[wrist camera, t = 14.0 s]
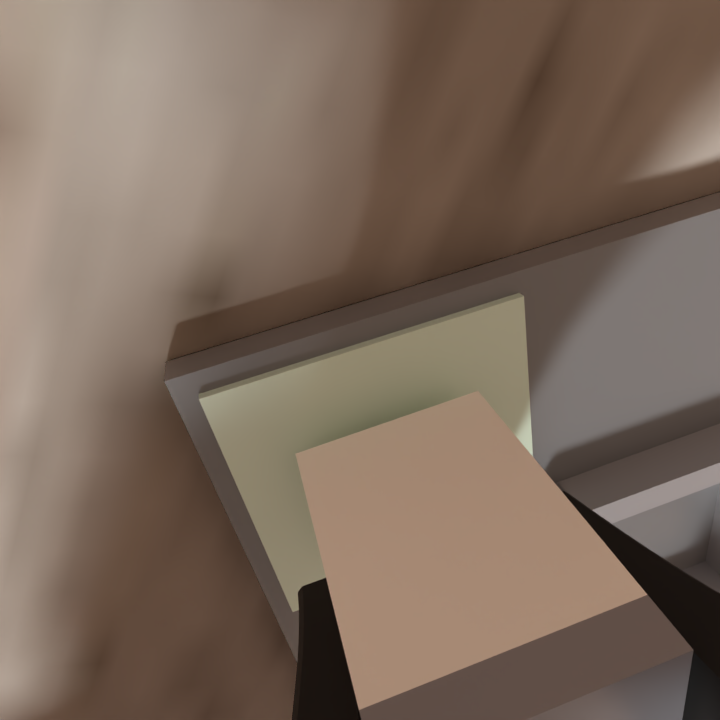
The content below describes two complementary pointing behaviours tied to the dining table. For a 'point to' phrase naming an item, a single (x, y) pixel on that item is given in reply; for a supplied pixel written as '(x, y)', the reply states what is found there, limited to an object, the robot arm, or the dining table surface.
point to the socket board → (491, 388)
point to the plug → (479, 581)
